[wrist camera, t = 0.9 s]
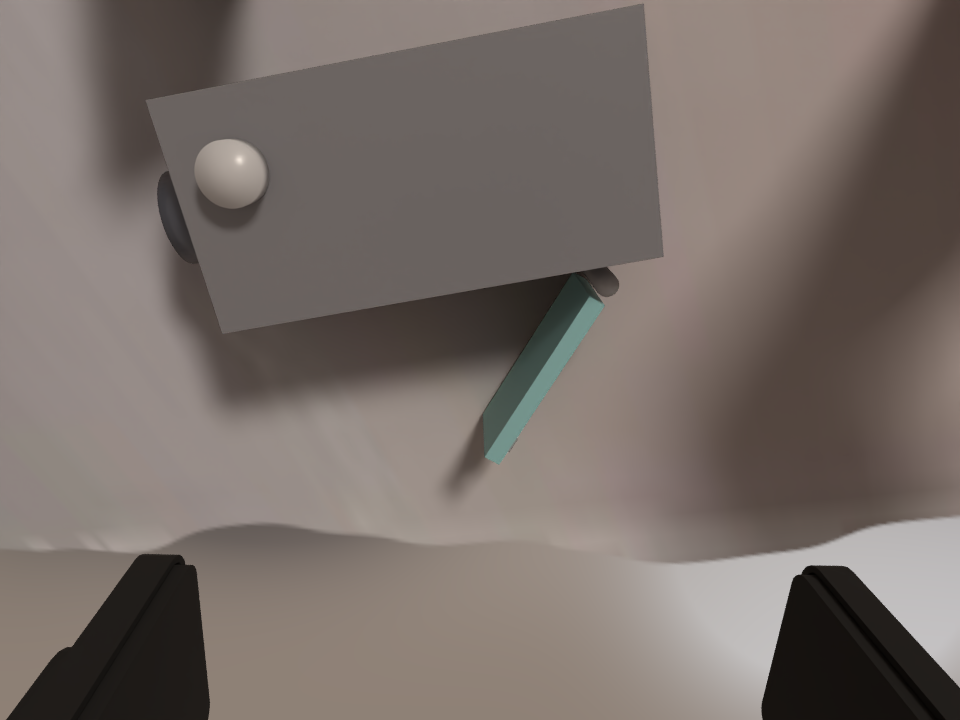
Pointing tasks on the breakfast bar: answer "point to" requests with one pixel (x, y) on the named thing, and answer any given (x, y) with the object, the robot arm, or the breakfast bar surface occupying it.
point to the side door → (544, 359)
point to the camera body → (416, 171)
